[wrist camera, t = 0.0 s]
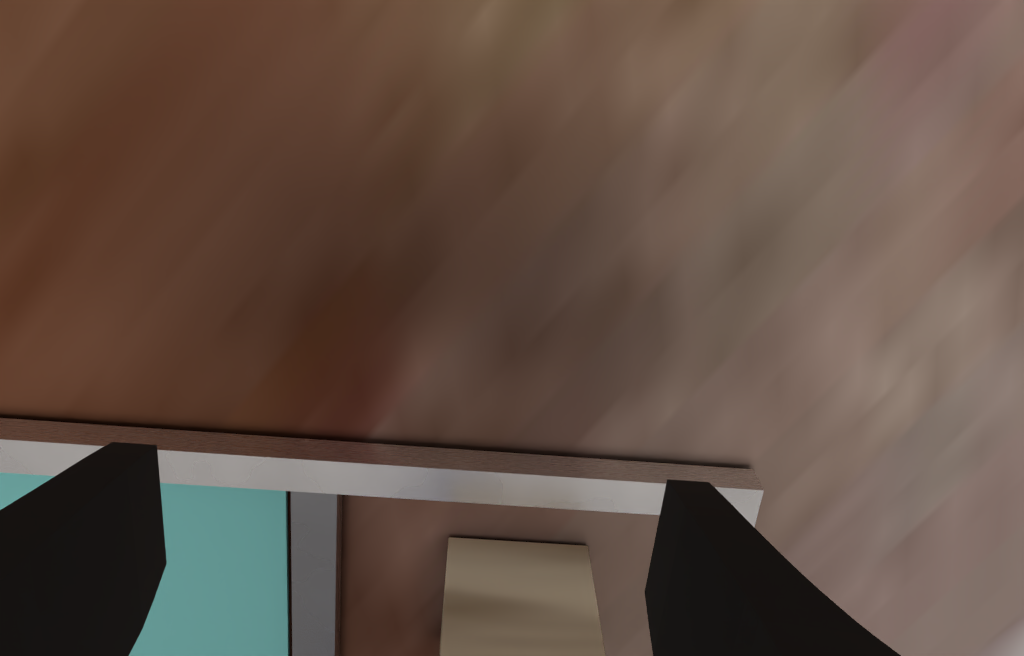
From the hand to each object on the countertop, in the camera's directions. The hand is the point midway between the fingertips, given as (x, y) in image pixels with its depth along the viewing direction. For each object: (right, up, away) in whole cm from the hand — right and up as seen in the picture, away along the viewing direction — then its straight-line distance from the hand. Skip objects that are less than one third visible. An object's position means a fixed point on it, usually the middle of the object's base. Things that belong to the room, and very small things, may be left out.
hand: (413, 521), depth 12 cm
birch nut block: (+1, -5, +13) cm, 14 cm away
